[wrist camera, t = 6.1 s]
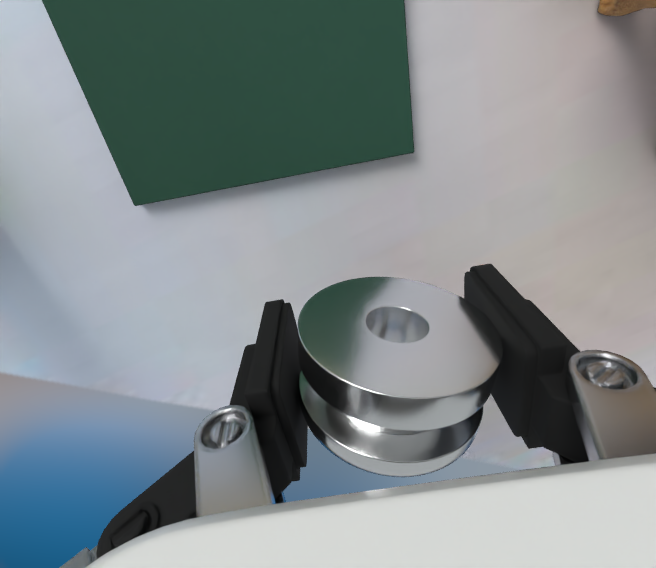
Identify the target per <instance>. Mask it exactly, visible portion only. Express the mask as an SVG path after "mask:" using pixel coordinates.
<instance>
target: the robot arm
mask: <svg viewBox="0 0 656 568" xmlns="http://www.w3.org/2000/svg"><path fill="white" fill-rule="evenodd" d="M464 299H465V300H467V301H469V302H470V303H472V304H473V305H474V306H476V307H477V308H478V309H480V310H481V311H482V312H483V313H484V314H485V315H486V316H487V317H488V318H489V319H490V320H491V322H492V323H493V325H494V326H495V327H496V329H497V330H498V332H499V334H500V337H501V340H502V344H503V357H502V361H501V364H500V367H499V370H498V373H497V376H496V379H495V382H494V385H493V388H492V391H491V394H492V396H493V398H494V400H495V402H496V403H497V405H498V407H499V409H500V411H501V412H502V414H503V416H504V418H505V420H506V421H507V423H508V425H509V427H510V429H511V430H512V432H513V434H514V435H515V436H516V437H520V436H521V437H522V438H523V440H524V442H525V444H526V445H527V447H528V449H530V448H537V447H544V448H546V449H548V450H551V451H553V459H554V463H555V466H550V467H542V468H535V469H527V470H519V471H511V472H505V473H497V474H489V475H481V476H474V477H466V478H459V479H452V480H444V481H437V482H429V483H422V484H415V485H408V486H400V487H393V488H386V489H378V490H371V491H364V492H357V493H349V494H342V495H335V496H329V497H321V498H314V499H307V500H300V501H293V502H286V500H285V497H284V493H283V490H284V489H285V488H286V487H287V486H288V485H289V484H290V483H291V481H298V480H300V467H306V463H307V428H308V425H307V423H306V421H305V418H304V416H303V413H302V410H301V406H300V401H299V375H300V371H301V368H300V364H299V359H298V329H297V325H296V321H295V318H294V314H293V310H292V307H291V304H290V303H284V300H283V299H281V300H276V301H270V302H266V303H265V306H264V310H263V315H262V319H261V323H260V328H259V332H258V336H257V341H256V344H251V345H247V346H246V347H245V349H244V353H243V357H242V360H241V364H240V368H239V372H238V375H237V379H236V383H235V386H234V390H233V394H232V398H231V401H230V405H229V406H225V407H222V408H219V409H217V410H215V411H213V412H212V413H211V414H209V415H208V416H207V417H206V418H204V420H203V421H202V422H201V423H200V424H199V426H198V428H197V430H196V432H195V437H194V451H193V452H192V453H191V454H189V455H188V456H187V457H186V458H184V459H183V460H182V461H181V462H179V463H178V464H177V465H176V466H175V467H173V468H172V469H171V470H170V471H169V472H167V473H166V474H165V475H164V476H162V477H161V478H160V479H159V480H157V481H156V482H155V483H154V484H153V485H151V486H150V487H149V488H148V489H146V491H144V492H143V493H142V494H140V495H139V496H138V497H137V498H136V499H134V500H133V501H132V502H131V503H129V504H128V505H127V506H126V507H125V508H123V509H122V510H121V511H120V512H119V513H118V514H117V515H116V516H115V517H114V518H113V519H112V520H111V521H110V523H109V524H108V525H107V527H106V528H105V529H104V531H103V533H102V535H101V538H100V539H99V542H98V545H97V546H96V547H95V548H93V549H92V550H91V551H90V550H89V549H88V548H87V547H86V548H85V549H83V550H82V551H81V552H79V553H78V554H77V555H76V556H75V557H73V558H72V559H71V560H69V561H68V562H67V563H65V564H64V565H63V566H61V567H60V568H656V388H654V387H653V386H652V384H651V383H650V381H649V379H648V377H647V376H646V374H645V373H644V371H643V370H642V369H641V368H640V367H639V366H638V365H637V364H635V363H634V362H633V361H631V360H629V359H627V358H625V357H623V356H621V355H618V354H615V353H611V352H608V351H601V350H586V351H582V352H580V351H579V350H578V349H577V348H576V347H575V346H574V345H573V344H572V343H571V342H570V341H569V340H568V339H567V338H566V337H565V335H564V334H563V333H562V332H561V331H560V330H559V329H558V328H557V327H556V326H555V325H554V324H553V323H552V322H551V321H550V320H549V319H548V318H547V317H546V316H545V315H544V314H543V313H542V312H541V311H540V310H539V309H538V308H537V307H536V306H535V305H534V304H533V303H532V302H531V301H530V300H526V299H524V298H523V297H522V296H521V295H520V294H519V293H518V292H517V290H516V289H515V288H514V287H513V286H512V285H511V284H510V283H509V282H508V281H507V280H506V279H505V278H504V277H503V276H502V275H501V274H500V273H499V272H498V271H497V269H496V268H495V267H494V266H493V265H492V264H485V265H479V266H473V267H471V269H470V272H466V273H465V277H464Z"/></svg>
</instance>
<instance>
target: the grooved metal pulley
mask: <svg viewBox="0 0 656 568" xmlns="http://www.w3.org/2000/svg"><path fill="white" fill-rule="evenodd" d="M502 357H503V344H502V340H501V337H500V334H499V332H498V330H497V329H496V327H495V326H494V325H493V323H492V322H491V320H490V319H489V318H488V317H487V316H486V315H485V314H484V313H483V312H482V311H481V310H480V309H478V308H477V307H476V306H474V305H473V304H472V303H470V302H469V301H467V300H465V299H464V298H462V297H460V296H458V295H456V294H454V293H452V292H450V291H447V290H445V289H443V288H440V287H437V286H434V285H431V284H427V283H424V282H420V281H415V280H410V279H403V278H394V277H365V278H357V279H351V280H347V281H343V282H339V283H336V284H334V285H331V286H329V287H327V288H325V289H323V290H321V291H319V292H318V293H316V294H315V295H314V296H313V297H311V298H310V299H309V300H308V301H307V303H306V304H305V305H304V307H303V308H302V310H301V312H300V315H299V319H298V359H299V364H300V368H301V371H300V375H299V401H300V406H301V410H302V413H303V416H304V418H305V421H306V423H307V425H308V426H309V428H310V430H311V431H312V432H313V434H314V435H315V437H316V438H317V439H318V440H319V441H320V442H321V444H322V445H323V446H324V447H325V448H327V449H328V450H329V451H330V452H331V453H333V454H334V455H335V456H337V457H338V458H340V459H341V460H343V461H344V462H346V463H348V464H350V465H352V466H354V467H356V468H359V469H362V470H365V471H367V472H371V473H374V474H378V475H384V476H392V477H412V476H420V475H425V474H428V473H432V472H435V471H438V470H440V469H442V468H444V467H446V466H448V465H450V464H451V463H453V462H454V461H455V460H457V459H458V458H459V457H460V456H462V455H463V454H464V453H465V451H466V450H467V449H468V448H469V447H470V445H471V444H472V442H473V440H474V439H475V436H476V434H477V432H478V429H479V426H480V423H481V420H482V415H483V405H484V404H485V402H486V401H487V399H488V397H489V395H490V393H491V391H492V388H493V385H494V382H495V379H496V376H497V373H498V370H499V367H500V364H501V361H502Z"/></svg>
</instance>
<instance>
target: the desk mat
mask: <svg viewBox="0 0 656 568" xmlns="http://www.w3.org/2000/svg"><path fill="white" fill-rule="evenodd" d="M42 1H43V4H44V6H45V8H46V10H47V13H48V15H49V17H50V19H51V21H52V24H53V26H54V28H55V30H56V32H57V35H58V37H59V39H60V41H61V44H62V46H63V48H64V50H65V52H66V55H67V57H68V59H69V61H70V64H71V66H72V68H73V70H74V72H75V75H76V77H77V79H78V81H79V84H80V86H81V88H82V90H83V92H84V95H85V97H86V99H87V101H88V104H89V106H90V108H91V110H92V112H93V115H94V117H95V119H96V121H97V124H98V126H99V128H100V130H101V132H102V135H103V137H104V139H105V141H106V144H107V146H108V148H109V150H110V152H111V155H112V157H113V159H114V161H115V164H116V166H117V168H118V170H119V172H120V175H121V177H122V179H123V181H124V184H125V186H126V188H127V190H128V192H129V195H130V197H131V199H132V201H133V204H134V205H135V206H137V205H143V204H148V203H153V202H158V201H164V200H169V199H174V198H179V197H184V196H190V195H195V194H200V193H205V192H211V191H216V190H221V189H226V188H231V187H237V186H242V185H247V184H252V183H258V182H263V181H268V180H273V179H278V178H284V177H289V176H294V175H299V174H305V173H310V172H315V171H320V170H325V169H331V168H336V167H341V166H346V165H352V164H357V163H362V162H367V161H372V160H378V159H383V158H388V157H393V156H398V155H404V154H409V153H413V152H414V142H413V126H412V111H411V96H410V81H409V66H408V51H407V36H406V21H405V6H404V0H42Z"/></svg>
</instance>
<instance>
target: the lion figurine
mask: <svg viewBox="0 0 656 568" xmlns="http://www.w3.org/2000/svg"><path fill="white" fill-rule="evenodd" d="M644 8H656V0H600V2H599V7H598V12H599V13H601V14H604V15H609V16H622V15H626V14H629V13H632V12H635V11H639V10H641V9H644Z"/></svg>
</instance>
